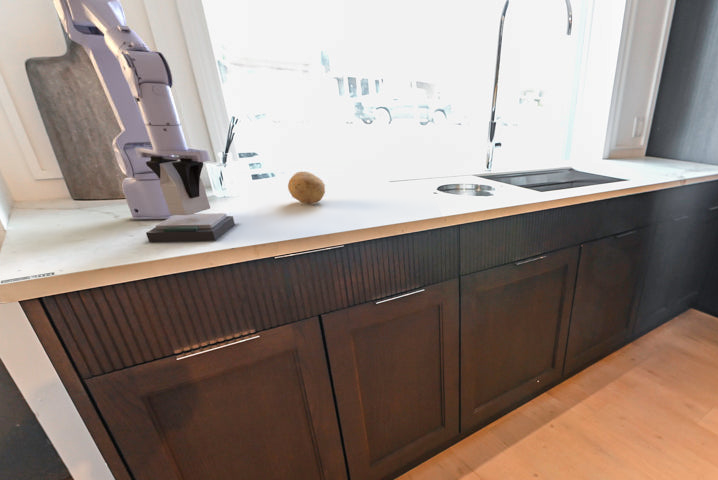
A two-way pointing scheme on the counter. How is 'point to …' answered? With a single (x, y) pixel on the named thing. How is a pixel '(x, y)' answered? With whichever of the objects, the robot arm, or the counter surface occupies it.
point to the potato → (306, 187)
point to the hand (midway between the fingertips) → (185, 196)
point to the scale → (191, 228)
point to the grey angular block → (180, 193)
